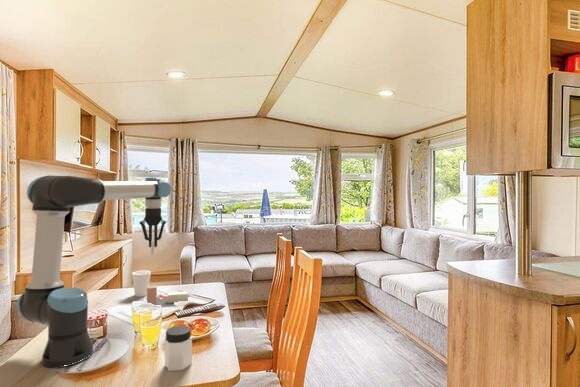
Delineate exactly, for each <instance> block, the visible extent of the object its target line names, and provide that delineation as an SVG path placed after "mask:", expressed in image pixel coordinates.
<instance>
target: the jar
mask: <svg viewBox="0 0 580 387" xmlns="http://www.w3.org/2000/svg"><path fill="white" fill-rule="evenodd" d="M191 329H192V328H191V327H190V326H189V325H184V324H183V325H179V324H178V325H175V326H174V325H173V326H170V327H169V328H167V329H166V331H165V338H164V365H165V368H166V369H167V370H168V372H173V371H174V372H175V371H176V372H177V371H179V372H180V371H184V370H185V369H187V368H188V367H189V366H191V365H192V364H193V362H192V361H193V337H192V330H191Z"/></svg>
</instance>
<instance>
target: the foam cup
mask: <svg viewBox="0 0 580 387" xmlns="http://www.w3.org/2000/svg"><path fill="white" fill-rule="evenodd" d="M151 274H152V273H151V271H150V270H144V269H143V270H137V271H132V273H131V278H132V285H133V290H134V296H135V297H139V298H140V297H141V298H142V297H147V286H150V279H151Z"/></svg>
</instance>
